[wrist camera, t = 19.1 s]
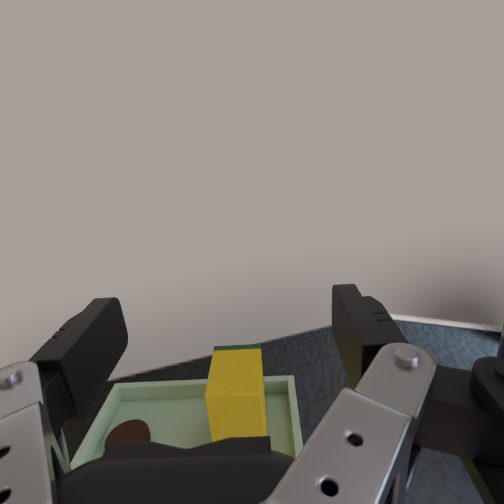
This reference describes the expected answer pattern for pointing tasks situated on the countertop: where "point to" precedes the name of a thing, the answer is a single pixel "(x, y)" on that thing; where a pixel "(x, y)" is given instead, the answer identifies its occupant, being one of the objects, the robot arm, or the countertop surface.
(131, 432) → the brown round disc
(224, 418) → the sponge
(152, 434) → the tray
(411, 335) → the countertop surface
